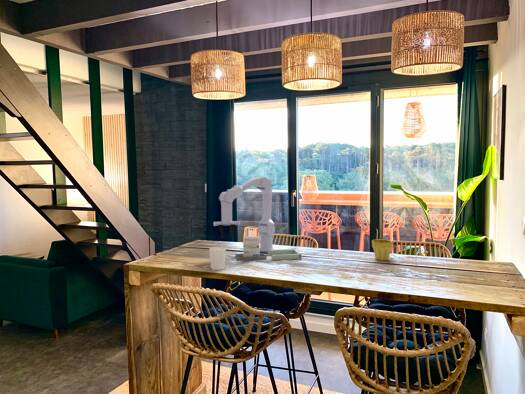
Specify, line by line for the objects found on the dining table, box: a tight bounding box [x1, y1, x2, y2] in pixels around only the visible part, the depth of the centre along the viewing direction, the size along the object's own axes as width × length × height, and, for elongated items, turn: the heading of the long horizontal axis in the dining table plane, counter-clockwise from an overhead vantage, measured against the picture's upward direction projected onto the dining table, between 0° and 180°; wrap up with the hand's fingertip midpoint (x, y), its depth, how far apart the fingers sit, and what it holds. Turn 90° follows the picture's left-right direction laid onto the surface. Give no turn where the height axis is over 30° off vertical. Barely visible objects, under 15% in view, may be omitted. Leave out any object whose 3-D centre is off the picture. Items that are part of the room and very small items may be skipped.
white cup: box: [209, 246, 226, 271], centre depth 196 cm, size 8×8×10 cm
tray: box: [267, 248, 302, 261], centre depth 222 cm, size 14×16×2 cm
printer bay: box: [234, 252, 268, 261], centre depth 219 cm, size 9×16×2 cm, turn 98°
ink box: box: [242, 235, 261, 257], centre depth 219 cm, size 8×5×12 cm, turn 84°
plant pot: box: [371, 238, 393, 261], centre depth 214 cm, size 10×10×10 cm
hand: (227, 238), depth 221 cm, fingers open, 4 cm apart
